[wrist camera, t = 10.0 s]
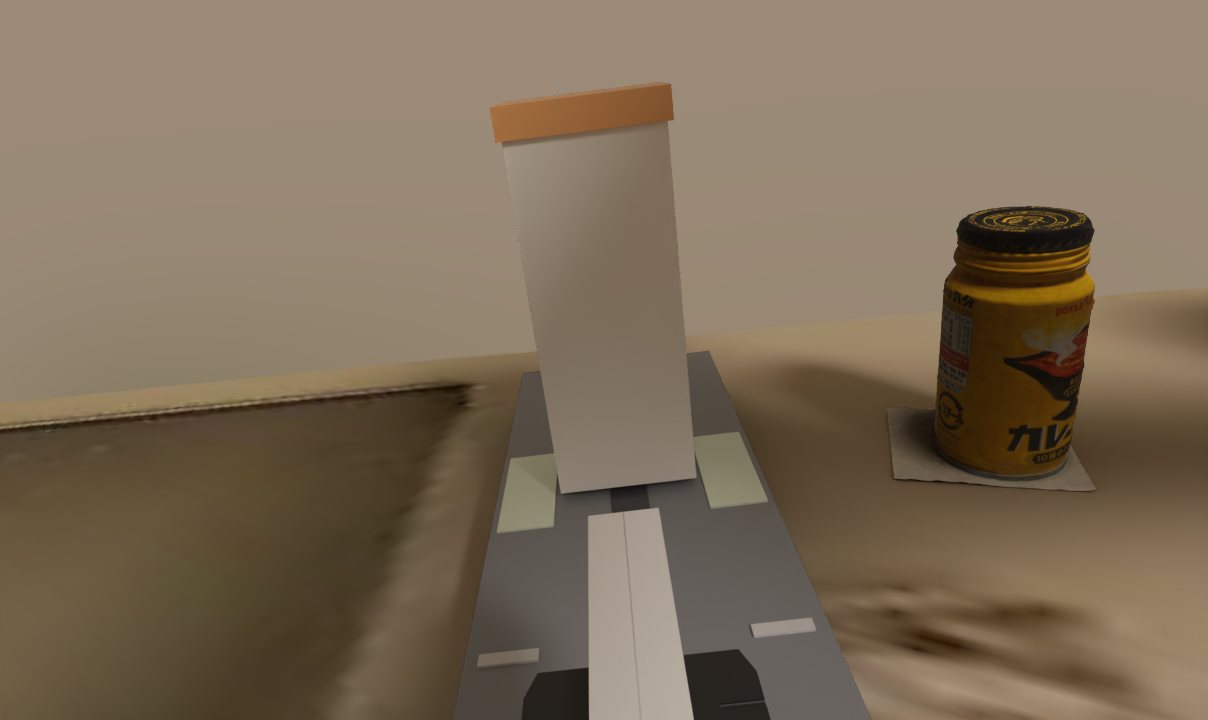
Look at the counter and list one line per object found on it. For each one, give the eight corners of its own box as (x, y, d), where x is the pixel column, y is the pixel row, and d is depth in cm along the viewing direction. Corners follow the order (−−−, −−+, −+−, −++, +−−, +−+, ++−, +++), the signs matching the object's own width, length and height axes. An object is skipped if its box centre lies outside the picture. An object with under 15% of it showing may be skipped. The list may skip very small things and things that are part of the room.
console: (902, 874, 18) (907, 798, 17) (448, 920, 19) (424, 849, 18) (711, 390, 46) (708, 349, 45) (529, 411, 46) (522, 371, 45)
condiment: (1096, 494, 32) (1142, 231, 27) (893, 481, 34) (904, 241, 30) (1054, 418, 38) (1086, 195, 34) (886, 412, 41) (894, 205, 36)
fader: (701, 479, 31) (671, 83, 25) (556, 496, 31) (489, 107, 25) (687, 432, 35) (658, 82, 29) (559, 447, 35) (502, 102, 29)
